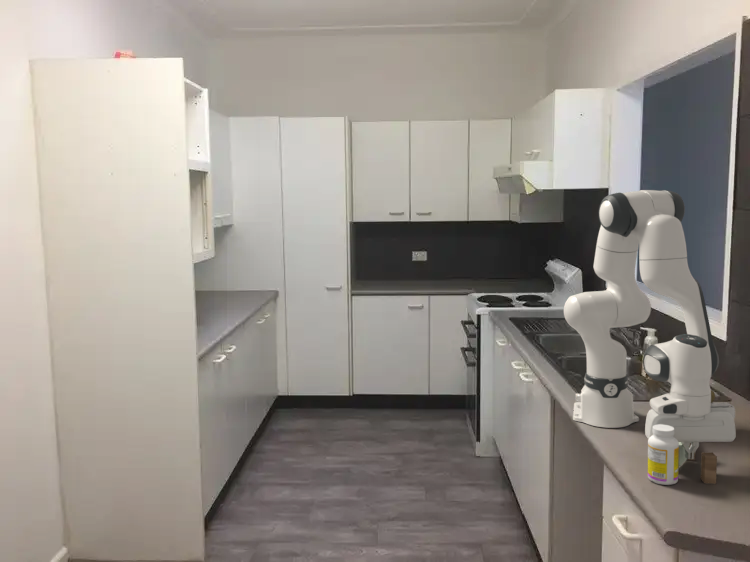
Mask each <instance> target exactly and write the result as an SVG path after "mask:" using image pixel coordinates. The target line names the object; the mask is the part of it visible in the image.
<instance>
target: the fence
mask: <svg viewBox="0 0 750 562" xmlns="http://www.w3.org/2000/svg"><path fill="white" fill-rule="evenodd" d="M690 446H691V443H690ZM690 446H689V448H690ZM700 456H701V459H700V461H701V462H700V480H702V483H704V484H713V485H714V484H715V485H716V484H717V468H718V467H717V465H718V464H717V463H718V456H717V455H716V454H715V453H714V452H708V451H707V452H705V451H704V452H703V451H702V452H701V455H700ZM686 461H696V452H695V453H694V459H687V460H686Z"/></svg>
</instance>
